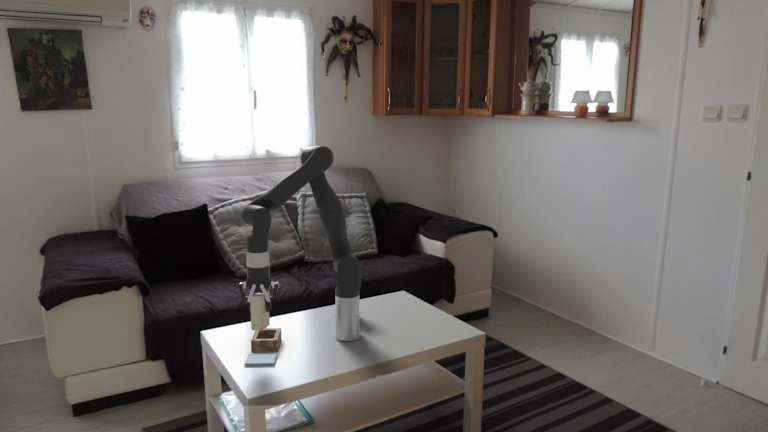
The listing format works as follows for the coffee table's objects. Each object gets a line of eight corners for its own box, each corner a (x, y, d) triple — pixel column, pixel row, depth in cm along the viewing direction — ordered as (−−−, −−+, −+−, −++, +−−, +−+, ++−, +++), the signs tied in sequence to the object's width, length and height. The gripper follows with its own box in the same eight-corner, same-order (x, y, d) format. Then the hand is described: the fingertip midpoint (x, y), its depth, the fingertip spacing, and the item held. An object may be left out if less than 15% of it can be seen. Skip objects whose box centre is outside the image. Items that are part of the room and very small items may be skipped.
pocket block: (281, 339, 215) (281, 328, 214) (277, 351, 204) (277, 340, 203) (256, 339, 214) (256, 328, 214) (251, 352, 203) (250, 340, 202)
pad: (277, 355, 200) (277, 353, 200) (274, 365, 193) (274, 363, 192) (248, 356, 200) (248, 353, 200) (244, 366, 192) (244, 363, 192)
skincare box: (262, 331, 191) (261, 297, 188) (250, 330, 192) (249, 296, 189) (270, 324, 197) (269, 291, 194) (258, 323, 198) (257, 290, 195)
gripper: (280, 260, 194) (282, 307, 197) (238, 260, 193) (240, 307, 196) (278, 266, 187) (279, 315, 190) (234, 266, 186) (236, 315, 189)
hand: (259, 311), depth 193 cm, fingers closed on skincare box, 5 cm apart
